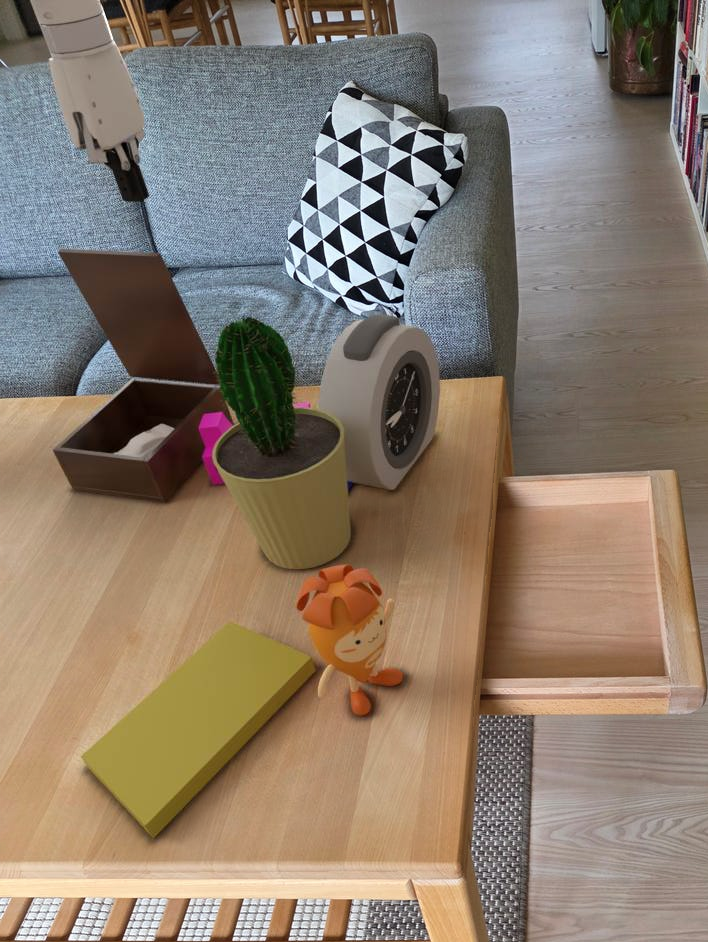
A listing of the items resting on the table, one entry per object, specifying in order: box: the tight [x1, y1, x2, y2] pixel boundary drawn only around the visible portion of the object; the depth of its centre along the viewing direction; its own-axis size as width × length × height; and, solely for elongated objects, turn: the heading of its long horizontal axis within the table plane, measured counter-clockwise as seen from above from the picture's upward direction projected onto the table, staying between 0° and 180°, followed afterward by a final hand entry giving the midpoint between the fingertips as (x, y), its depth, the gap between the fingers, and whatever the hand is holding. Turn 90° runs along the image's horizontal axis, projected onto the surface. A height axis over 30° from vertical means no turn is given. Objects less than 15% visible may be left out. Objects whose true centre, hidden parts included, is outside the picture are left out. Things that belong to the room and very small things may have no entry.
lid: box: [57, 248, 220, 386], centre depth 121 cm, size 20×16×1 cm
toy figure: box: [295, 564, 404, 717], centre depth 87 cm, size 12×8×15 cm, turn 141°
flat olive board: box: [80, 620, 317, 839], centre depth 90 cm, size 12×2×24 cm
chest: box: [52, 377, 235, 503], centre depth 126 cm, size 20×16×7 cm
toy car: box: [113, 424, 174, 458], centre depth 125 cm, size 6×12×3 cm, turn 143°
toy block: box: [198, 401, 312, 485], centre depth 121 cm, size 15×6×8 cm, turn 91°
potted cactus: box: [207, 309, 352, 570], centre depth 100 cm, size 15×15×30 cm
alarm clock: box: [317, 313, 441, 491], centre depth 115 cm, size 21×8×20 cm, turn 158°
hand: (136, 199), depth 116 cm, fingers closed
